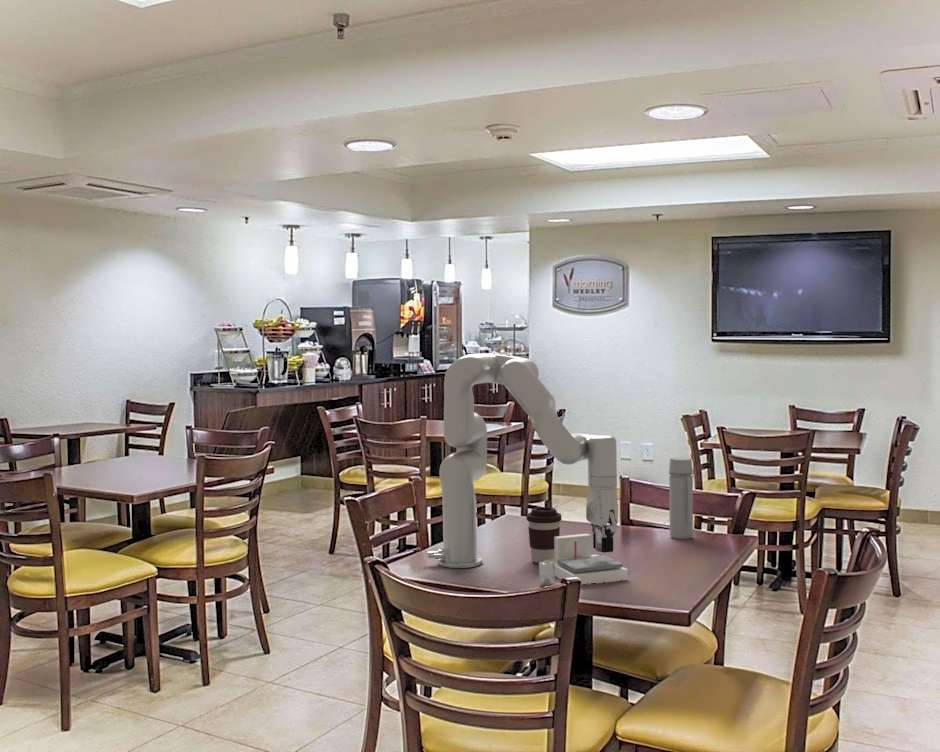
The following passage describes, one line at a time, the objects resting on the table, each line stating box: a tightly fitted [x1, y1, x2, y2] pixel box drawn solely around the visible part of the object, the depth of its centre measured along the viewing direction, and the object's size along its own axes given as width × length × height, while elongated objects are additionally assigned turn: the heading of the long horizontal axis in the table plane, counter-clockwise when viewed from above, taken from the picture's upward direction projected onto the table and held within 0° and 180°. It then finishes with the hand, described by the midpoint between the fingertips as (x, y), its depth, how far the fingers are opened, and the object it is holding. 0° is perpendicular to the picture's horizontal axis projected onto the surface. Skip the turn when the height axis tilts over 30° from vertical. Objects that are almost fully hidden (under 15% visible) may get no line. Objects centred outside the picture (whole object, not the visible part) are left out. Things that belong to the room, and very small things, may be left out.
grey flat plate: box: [558, 554, 623, 573], centre depth 242 cm, size 14×10×1 cm
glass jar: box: [594, 527, 610, 553], centre depth 243 cm, size 4×4×6 cm
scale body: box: [544, 533, 629, 585], centre depth 244 cm, size 16×18×9 cm
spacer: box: [538, 561, 556, 588], centre depth 234 cm, size 4×4×6 cm
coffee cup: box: [526, 506, 563, 564], centre depth 259 cm, size 10×10×15 cm
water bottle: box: [668, 456, 695, 540], centre depth 286 cm, size 9×8×25 cm
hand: (603, 549), depth 243 cm, fingers closed on glass jar, 4 cm apart
